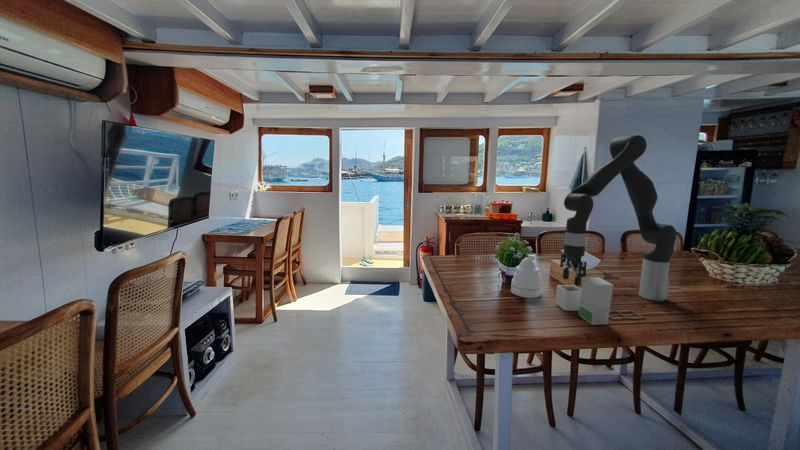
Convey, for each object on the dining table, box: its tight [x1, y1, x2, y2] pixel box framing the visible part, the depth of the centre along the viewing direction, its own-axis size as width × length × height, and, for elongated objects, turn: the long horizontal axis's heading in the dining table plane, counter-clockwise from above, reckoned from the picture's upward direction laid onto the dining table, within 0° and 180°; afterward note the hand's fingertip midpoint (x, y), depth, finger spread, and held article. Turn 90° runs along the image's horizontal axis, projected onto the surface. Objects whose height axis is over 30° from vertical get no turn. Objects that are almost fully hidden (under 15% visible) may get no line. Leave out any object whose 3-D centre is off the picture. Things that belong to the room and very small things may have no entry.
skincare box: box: [578, 276, 614, 326], centre depth 121 cm, size 8×7×16 cm
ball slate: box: [565, 287, 575, 291], centre depth 132 cm, size 4×4×4 cm
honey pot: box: [510, 254, 542, 299], centre depth 149 cm, size 13×13×18 cm
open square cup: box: [554, 284, 582, 312], centre depth 134 cm, size 8×8×8 cm
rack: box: [609, 309, 646, 321], centre depth 126 cm, size 13×7×1 cm, turn 93°
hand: (571, 282), depth 133 cm, fingers open, 8 cm apart
